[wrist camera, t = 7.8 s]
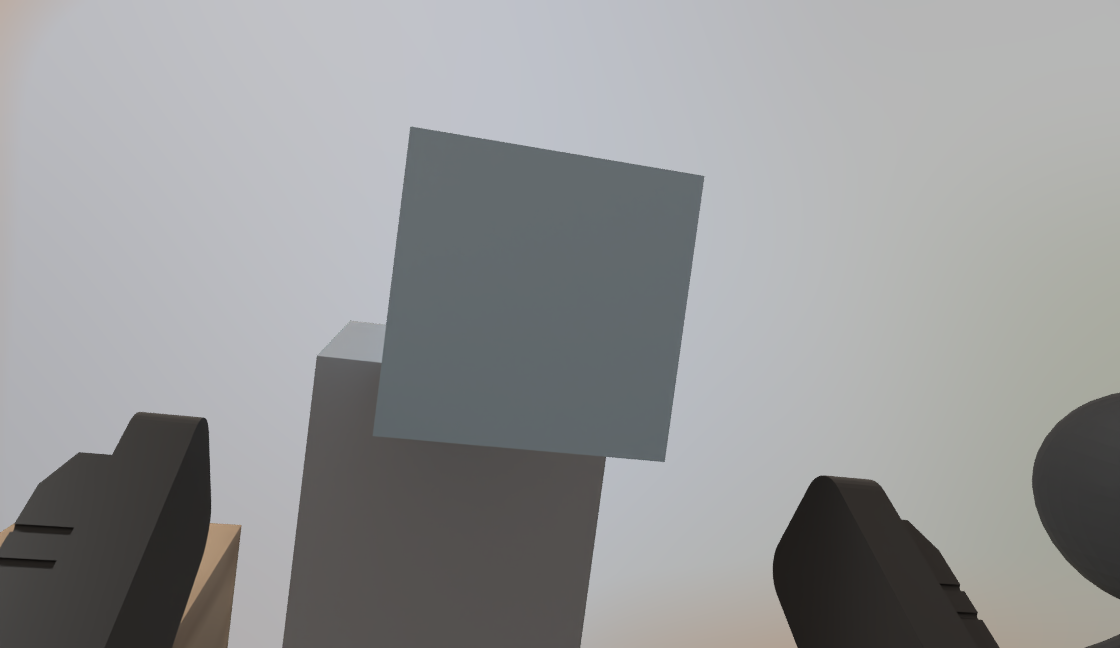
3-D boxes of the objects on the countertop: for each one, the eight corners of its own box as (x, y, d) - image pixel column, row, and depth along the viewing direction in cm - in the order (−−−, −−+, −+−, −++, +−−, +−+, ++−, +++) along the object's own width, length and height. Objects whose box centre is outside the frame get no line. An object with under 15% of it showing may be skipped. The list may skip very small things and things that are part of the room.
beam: (490, 333, 33) (502, 236, 32) (664, 461, 11) (704, 176, 11) (391, 321, 32) (404, 222, 32) (373, 435, 10) (410, 126, 10)
